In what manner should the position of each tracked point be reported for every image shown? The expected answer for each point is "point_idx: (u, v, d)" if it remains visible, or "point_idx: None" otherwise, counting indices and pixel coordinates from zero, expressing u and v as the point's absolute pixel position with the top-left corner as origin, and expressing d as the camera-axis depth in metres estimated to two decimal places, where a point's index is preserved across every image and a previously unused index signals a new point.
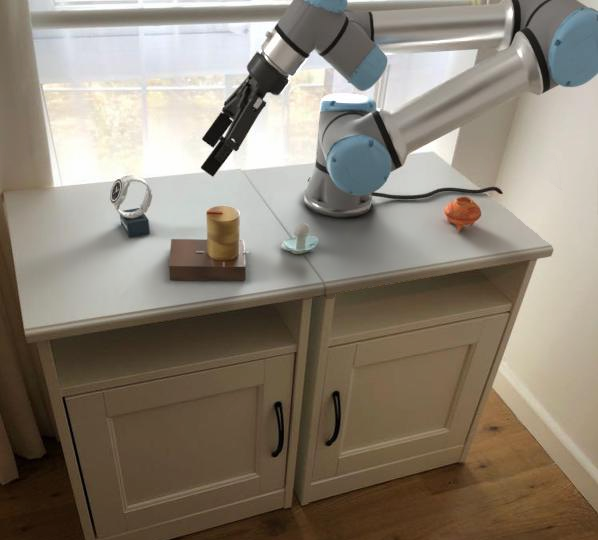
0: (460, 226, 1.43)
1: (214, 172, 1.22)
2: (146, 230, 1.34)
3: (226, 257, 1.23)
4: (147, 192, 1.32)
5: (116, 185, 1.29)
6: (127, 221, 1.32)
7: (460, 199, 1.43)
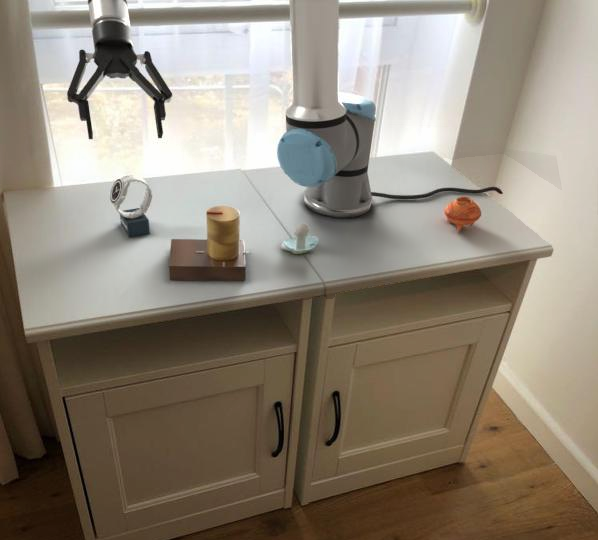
0: (460, 226, 1.43)
1: (88, 129, 1.29)
2: (146, 230, 1.34)
3: (226, 257, 1.23)
4: (147, 192, 1.32)
5: (116, 185, 1.29)
6: (127, 221, 1.32)
7: (460, 199, 1.43)
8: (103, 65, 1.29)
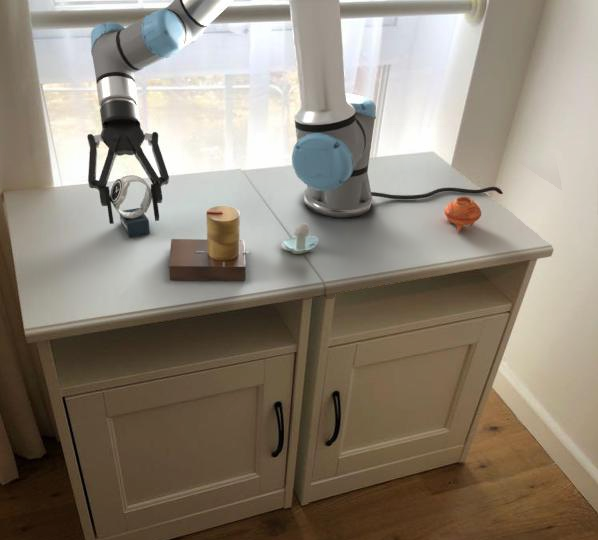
0: (460, 226, 1.43)
1: None
2: (146, 230, 1.34)
3: (226, 257, 1.23)
4: (147, 192, 1.32)
5: (116, 185, 1.29)
6: (127, 221, 1.32)
7: (460, 199, 1.43)
8: (113, 145, 1.29)
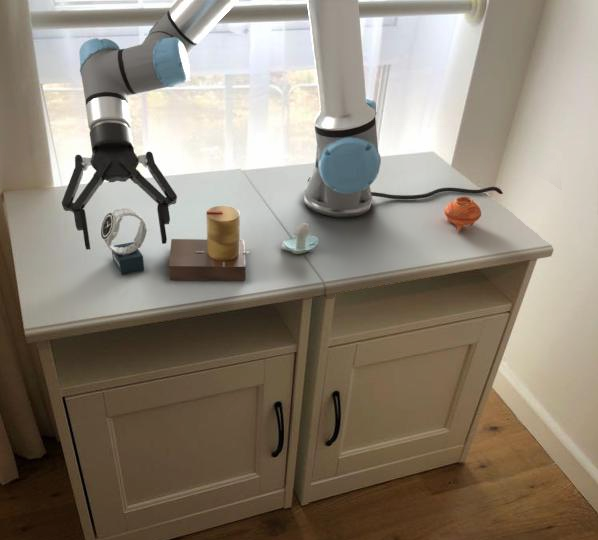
0: (460, 226, 1.43)
1: None
2: (140, 267, 1.24)
3: (226, 257, 1.23)
4: (141, 226, 1.21)
5: (107, 219, 1.19)
6: (119, 258, 1.21)
7: (460, 199, 1.43)
8: (101, 170, 1.18)
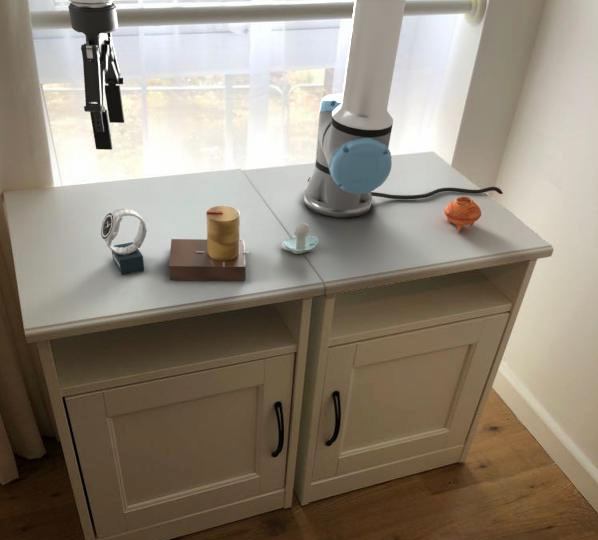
0: (460, 226, 1.43)
1: (109, 144, 1.16)
2: (140, 267, 1.24)
3: (226, 257, 1.23)
4: (141, 226, 1.21)
5: (107, 219, 1.19)
6: (119, 258, 1.21)
7: (460, 199, 1.43)
8: (106, 61, 1.11)
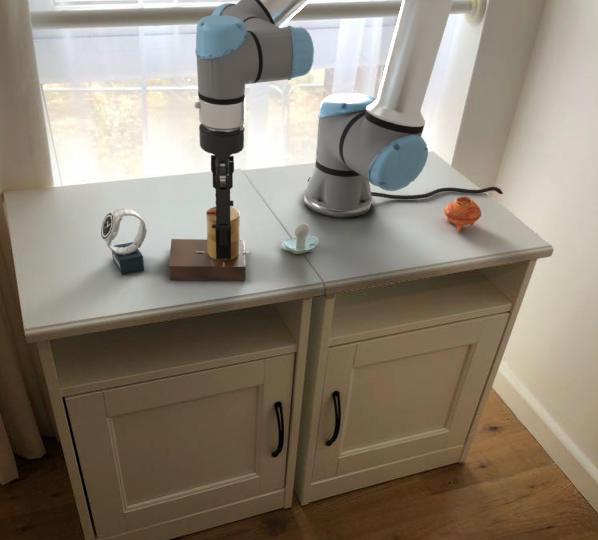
0: (460, 226, 1.43)
1: (229, 254, 1.22)
2: (140, 267, 1.24)
3: None
4: (141, 226, 1.21)
5: (107, 219, 1.19)
6: (119, 258, 1.21)
7: (460, 199, 1.43)
8: (232, 178, 1.14)
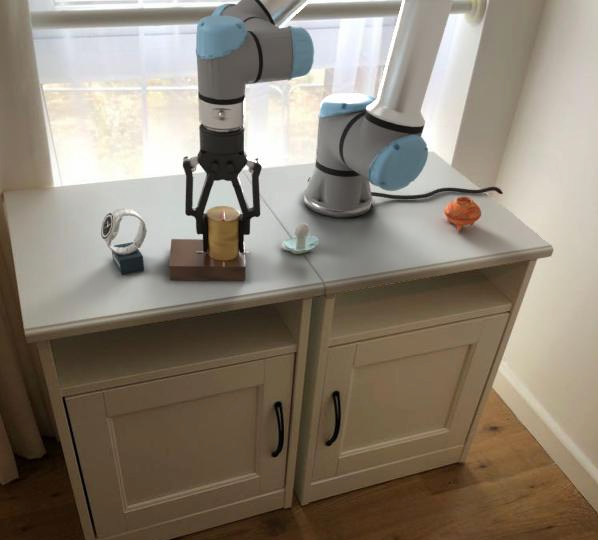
0: (460, 226, 1.43)
1: None
2: (140, 267, 1.24)
3: None
4: (141, 226, 1.21)
5: (107, 219, 1.19)
6: (119, 258, 1.21)
7: (460, 199, 1.43)
8: None
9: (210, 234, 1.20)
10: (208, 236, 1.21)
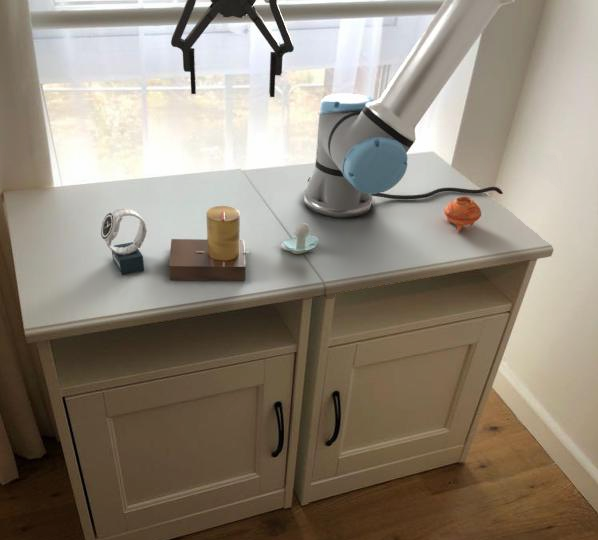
0: (460, 226, 1.43)
1: None
2: (140, 267, 1.24)
3: None
4: (141, 226, 1.21)
5: (107, 219, 1.19)
6: (119, 258, 1.21)
7: (460, 199, 1.43)
8: None
9: (210, 234, 1.20)
10: (208, 236, 1.21)
